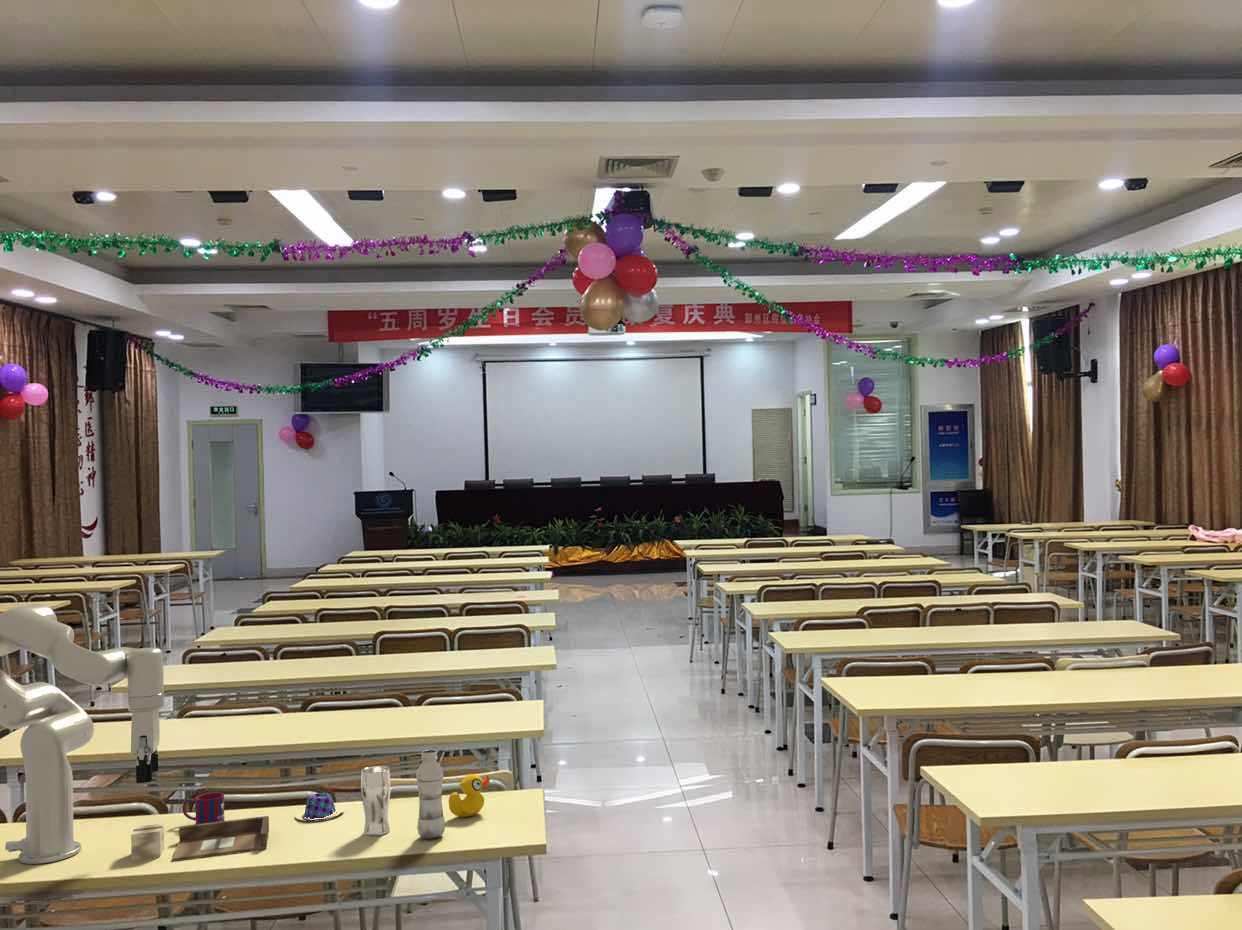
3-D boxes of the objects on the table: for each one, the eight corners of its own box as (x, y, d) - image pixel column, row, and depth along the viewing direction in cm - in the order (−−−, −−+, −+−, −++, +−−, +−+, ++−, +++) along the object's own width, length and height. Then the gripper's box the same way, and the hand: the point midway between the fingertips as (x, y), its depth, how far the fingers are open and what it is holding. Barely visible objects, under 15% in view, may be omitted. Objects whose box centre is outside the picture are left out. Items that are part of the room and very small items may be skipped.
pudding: (354, 813, 255) (353, 792, 256) (316, 826, 245) (315, 805, 246) (323, 806, 262) (322, 786, 262) (285, 819, 252) (284, 798, 252)
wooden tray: (172, 861, 223) (172, 845, 223) (180, 841, 237) (179, 826, 237) (266, 849, 229) (266, 833, 229) (268, 830, 243) (268, 815, 243)
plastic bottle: (450, 833, 236) (448, 748, 237) (437, 843, 230) (435, 755, 230) (425, 831, 238) (423, 747, 239) (412, 841, 231) (410, 754, 232)
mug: (216, 827, 246) (216, 799, 247) (177, 828, 247) (177, 800, 247) (229, 819, 253) (228, 792, 253) (191, 819, 254) (191, 792, 254)
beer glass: (381, 838, 234) (379, 774, 235) (356, 835, 236) (354, 772, 237) (397, 828, 241) (395, 766, 241) (372, 826, 243) (371, 764, 244)
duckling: (485, 808, 255) (484, 768, 255) (495, 812, 251) (494, 773, 251) (445, 817, 248) (444, 777, 249) (455, 822, 244) (453, 781, 244)
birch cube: (131, 861, 224) (131, 834, 225) (135, 852, 230) (135, 826, 230) (160, 857, 226) (160, 830, 226) (164, 849, 232) (163, 822, 232)
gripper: (134, 697, 237) (136, 769, 236) (121, 710, 220) (122, 788, 219) (168, 694, 239) (170, 766, 238) (158, 707, 222) (159, 784, 222)
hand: (147, 776), depth 229 cm, fingers open, 9 cm apart
